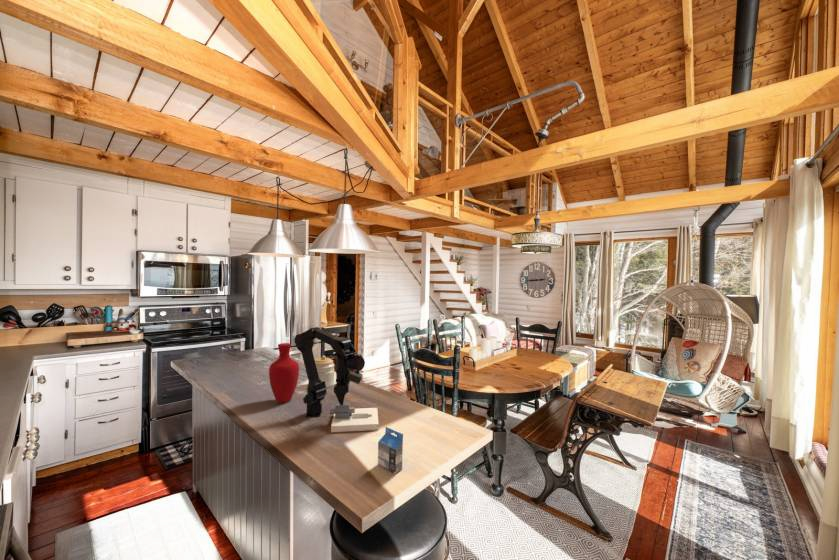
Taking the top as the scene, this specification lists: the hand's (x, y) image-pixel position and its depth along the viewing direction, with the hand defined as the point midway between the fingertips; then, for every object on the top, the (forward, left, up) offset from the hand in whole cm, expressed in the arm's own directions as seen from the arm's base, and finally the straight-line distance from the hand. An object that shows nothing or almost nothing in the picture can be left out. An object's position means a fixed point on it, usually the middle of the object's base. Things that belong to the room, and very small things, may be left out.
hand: (342, 401), depth 154 cm
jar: (-15, +55, -10) cm, 58 cm away
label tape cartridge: (+19, -38, -10) cm, 44 cm away
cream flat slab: (+6, 0, -10) cm, 11 cm away
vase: (-32, +30, -10) cm, 45 cm away
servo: (0, 0, -7) cm, 7 cm away
